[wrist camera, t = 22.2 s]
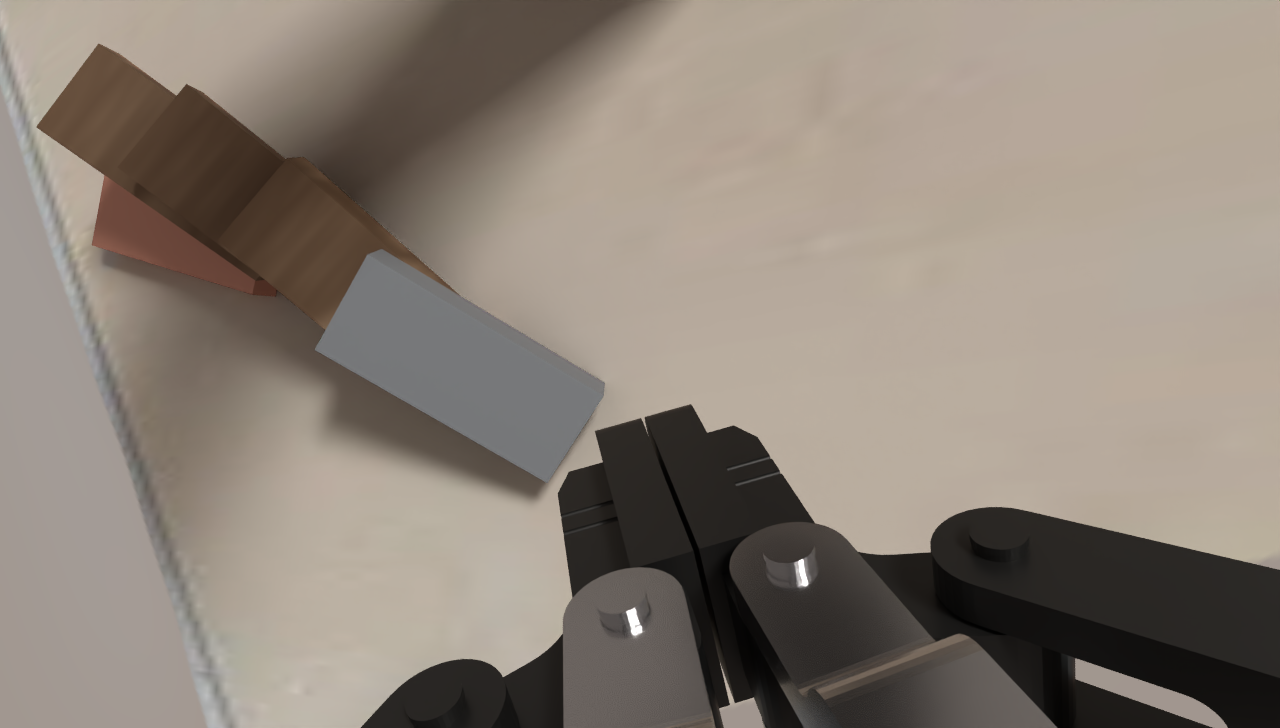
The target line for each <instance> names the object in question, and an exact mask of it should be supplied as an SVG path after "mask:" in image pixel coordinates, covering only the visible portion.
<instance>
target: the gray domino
mask: <svg viewBox="0 0 1280 728" xmlns="http://www.w3.org/2000/svg"><path fill="white" fill-rule="evenodd" d="M315 350H316V351H317V352H319V353H321V354H323V355H324V356H326V357H328V358H330V359H331V360H333V361H335V362H337V363H338V364H340V365H342V366H344V367H345V368H347V369H349V370H351V371H352V372H354V373H356V374H358V375H359V376H361V377H363V378H365V379H366V380H368V381H370V382H372V383H373V384H375V385H377V386H379V387H380V388H382V389H384V390H386V391H387V392H389V393H391V394H392V395H394V396H396V397H398V398H399V399H401V400H403V401H405V402H406V403H408V404H410V405H412V406H413V407H415V408H417V409H419V410H420V411H422V412H424V413H426V414H427V415H429V416H431V417H433V418H434V419H436V420H438V421H440V422H441V423H443V424H445V425H447V426H448V427H450V428H452V429H454V430H455V431H457V432H459V433H461V434H462V435H464V436H466V437H468V438H469V439H471V440H473V441H475V442H476V443H478V444H480V445H482V446H483V447H485V448H487V449H489V450H490V451H492V452H494V453H495V454H497V455H499V456H501V457H502V458H504V459H506V460H508V461H509V462H511V463H513V464H515V465H516V466H518V467H520V468H522V469H523V470H525V471H527V472H529V473H530V474H532V475H534V476H536V477H537V478H539V479H541V480H543V481H544V482H546V483H548V481H549V479H550V478H551V476H552V475H553V473H554V472H555V470H556V469H557V467H558V466H559V464H560V462H561V461H562V459H563V458H564V456H565V455H566V453H567V452H568V450H569V449H570V447H571V445H572V444H573V442H574V441H575V439H576V438H577V436H578V435H579V433H580V432H581V430H582V428H583V427H584V425H585V424H586V422H587V421H588V419H589V418H590V416H591V415H592V413H593V411H594V410H595V408H596V407H597V405H598V404H599V402H600V401H601V399H602V398H603V396H604V385H605V383H604V382H603V381H601V380H599V379H598V378H596V377H594V376H593V375H591V374H589V373H588V372H586V371H584V370H583V369H581V368H579V367H578V366H576V365H574V364H573V363H571V362H569V361H568V360H566V359H564V358H563V357H561V356H559V355H558V354H556V353H554V352H553V351H551V350H549V349H548V348H546V347H544V346H543V345H541V344H539V343H538V342H536V341H534V340H533V339H531V338H529V337H528V336H526V335H524V334H523V333H521V332H519V331H518V330H516V329H514V328H513V327H511V326H509V325H508V324H506V323H504V322H503V321H501V320H499V319H498V318H496V317H494V316H493V315H491V314H489V313H488V312H486V311H484V310H483V309H481V308H479V307H478V306H476V305H474V304H473V303H471V302H469V301H468V300H466V299H464V298H463V297H461V296H459V295H458V294H456V293H455V292H453V291H451V290H450V289H448V288H446V287H445V286H443V285H441V284H440V283H438V282H436V281H435V280H433V279H431V278H430V277H428V276H426V275H425V274H423V273H421V272H420V271H418V270H416V269H415V268H413V267H411V266H410V265H408V264H406V263H405V262H403V261H401V260H400V259H398V258H396V257H395V256H393V255H391V254H390V253H388V252H386V251H385V250H383V249H380V250H378V251H375V252H373V253H370V254H367V256H366V258H365V260H364V262H363V263H362V265H361V267H360V269H359V271H358V272H357V274H356V276H355V278H354V280H353V281H352V283H351V285H350V287H349V289H348V290H347V292H346V294H345V296H344V298H343V299H342V301H341V303H340V305H339V307H338V308H337V310H336V312H335V314H334V316H333V317H332V319H331V321H330V323H329V325H328V327H327V328H326V330H325V332H324V334H323V336H322V337H321V339H320V341H319V343H318V345H317V346H316V348H315Z"/></svg>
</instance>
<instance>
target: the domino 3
mask: <svg viewBox="0 0 1280 728" xmlns="http://www.w3.org/2000/svg"><path fill="white" fill-rule="evenodd" d="M92 245H93V246H96V247H99V248H103V249H106V250H109V251H112V252H116V253H119V254H122V255H125V256H129V257H132V258H135V259H138V260H142V261H145V262H148V263H151V264H155V265H158V266H161V267H164V268H168V269H171V270H174V271H177V272H180V273H184V274H187V275H190V276H193V277H197V278H200V279H203V280H206V281H210V282H213V283H216V284H219V285H223V286H226V287H229V288H232V289H236V290H239V291H242V292H245V293H249V294H252V295H263V296H275V297H276V293H277V289H275V288H274V287H273V286H272V285H271V284H269V283H268V282H267V281H266V280H259V281H255V280H254V279H252V278H251V277H249V276H248V275H246V274H245V273H244V272H242V271H241V270H239V269H238V268H236V267H235V266H234V265H232V264H231V263H229V262H228V261H226V260H225V259H224V258H222V257H221V256H219V255H218V254H217V253H215V252H214V251H212V250H211V249H209V248H208V247H207V246H205V245H204V244H202V243H201V242H199V241H198V240H197V239H195V238H194V237H192V236H191V235H189V234H188V233H187V232H185V231H184V230H182V229H181V228H179V227H178V226H177V225H175V224H174V223H172V222H171V221H169V220H168V219H167V218H165V217H164V216H162V215H161V214H159V213H158V212H157V211H155V210H154V209H152V208H151V207H149V206H148V205H147V204H145V203H144V202H142V201H141V200H139V199H138V198H137V197H135V196H134V195H132V194H131V193H129V192H128V191H127V190H125V189H124V188H122V187H121V186H119V185H118V184H117V183H115V182H114V181H112V180H111V179H110V178H108V177H107V176H104V181H103V187H102V192H101V198H100V203H99V209H98V214H97V220H96V225H95V231H94V236H93V242H92Z"/></svg>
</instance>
